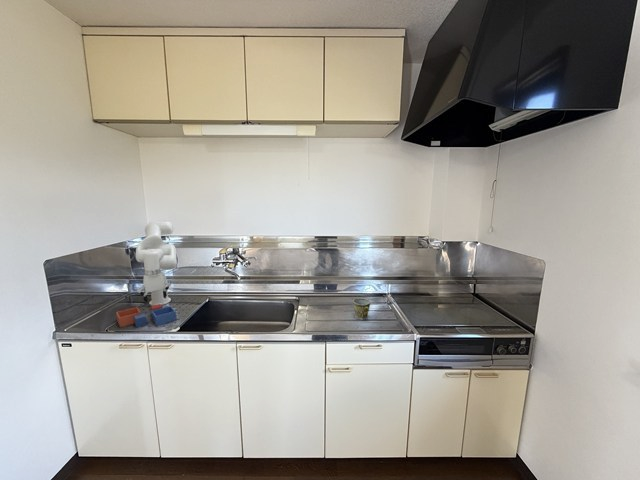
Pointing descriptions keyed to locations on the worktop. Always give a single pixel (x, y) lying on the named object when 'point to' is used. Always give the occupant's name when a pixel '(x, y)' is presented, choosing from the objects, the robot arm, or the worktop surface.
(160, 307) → the red block
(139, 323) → the blue block
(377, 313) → the worktop surface
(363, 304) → the ceramic cup
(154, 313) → the blue bin
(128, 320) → the red bin
